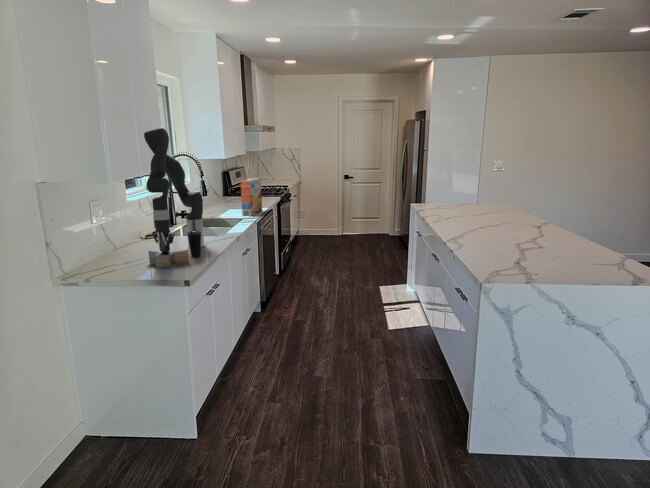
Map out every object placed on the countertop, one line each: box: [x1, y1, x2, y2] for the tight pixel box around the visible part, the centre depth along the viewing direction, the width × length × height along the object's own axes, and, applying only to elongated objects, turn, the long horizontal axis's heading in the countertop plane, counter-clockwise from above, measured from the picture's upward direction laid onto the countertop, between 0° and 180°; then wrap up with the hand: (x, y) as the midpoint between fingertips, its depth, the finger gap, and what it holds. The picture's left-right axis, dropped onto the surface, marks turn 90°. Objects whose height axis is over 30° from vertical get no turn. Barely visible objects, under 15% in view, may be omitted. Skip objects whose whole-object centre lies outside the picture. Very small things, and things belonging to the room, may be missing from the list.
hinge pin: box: [160, 234, 168, 255], centre depth 217 cm, size 3×3×14 cm
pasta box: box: [240, 177, 263, 218], centre depth 361 cm, size 23×8×30 cm, turn 165°
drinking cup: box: [186, 221, 202, 259], centre depth 234 cm, size 8×8×20 cm
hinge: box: [147, 249, 190, 270], centre depth 220 cm, size 11×20×7 cm, turn 84°
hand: (165, 251), depth 217 cm, fingers closed on hinge pin, 3 cm apart
